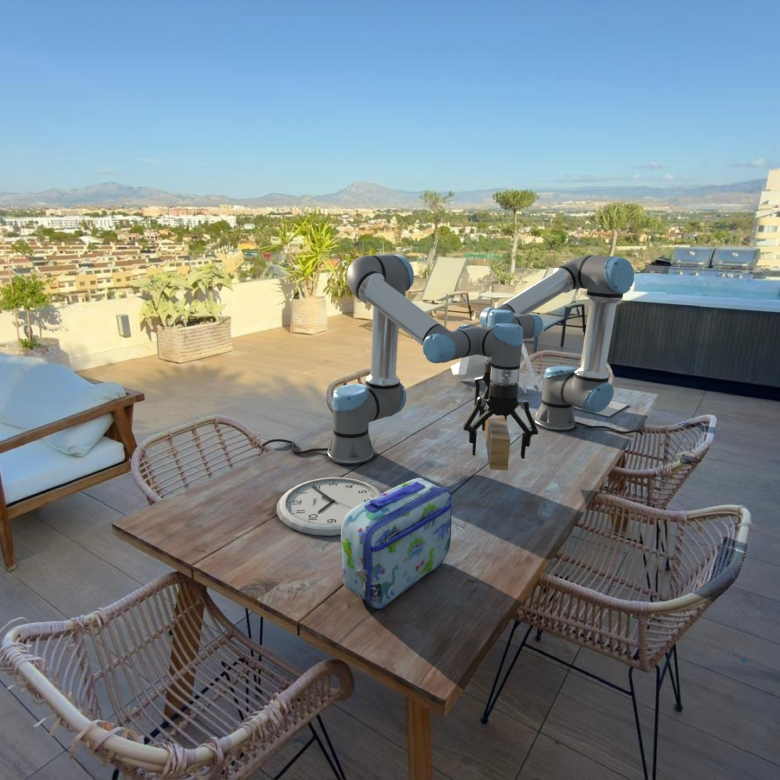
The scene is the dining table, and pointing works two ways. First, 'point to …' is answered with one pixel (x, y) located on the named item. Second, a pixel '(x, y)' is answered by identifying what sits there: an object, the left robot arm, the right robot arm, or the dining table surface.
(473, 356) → the white plastic object
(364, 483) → the wall clock
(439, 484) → the fork
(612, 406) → the invitation card
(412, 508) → the lunch box
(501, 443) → the bar
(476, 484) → the dining table surface
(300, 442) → the dining table surface
